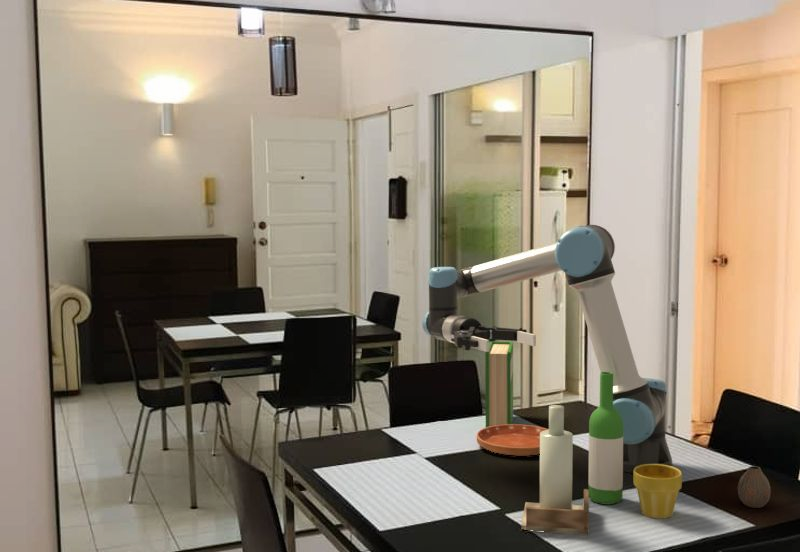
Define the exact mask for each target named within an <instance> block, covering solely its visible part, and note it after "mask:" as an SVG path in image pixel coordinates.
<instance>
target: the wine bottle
mask: <svg viewBox="0 0 800 552" xmlns="http://www.w3.org/2000/svg"><path fill="white" fill-rule="evenodd" d="M623 475H624V471H623V420H622V417H621V415H620V413H619V412H618V411H617V410H616V409H615V408H614V407H613V373H611V372H601V371H600V375H599V405H598V407H597V408H596V409H595V410H594V411H593V412H592V413H591V414H590V417H589V421H588V496H589V500H591V501H593V502H595V503H597V504H601V505H613V504H614V505H615V504H617V503H620V502H621V501H622V500H623V492H624V491H623V490H624V489H623V485H624V483H623V482H624V476H623Z"/></svg>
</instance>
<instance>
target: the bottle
mask: <svg viewBox="0 0 800 552" xmlns="http://www.w3.org/2000/svg"><path fill="white" fill-rule="evenodd" d="M564 424H565V406H563V405H561V404H552V405H551V404H550V405H549V406H548V429H549V430H545V431H542V432H540V455H539V503H540V508H558V509H572V505H573V448H574V447H573V446H574V445H573V441H574V440H573V439H574V438H573V436H574V434H573V433H572V432H570V431H569V430H568V431H567V430H565V429H564V428H565V425H564Z"/></svg>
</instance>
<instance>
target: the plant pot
mask: <svg viewBox="0 0 800 552" xmlns="http://www.w3.org/2000/svg"><path fill="white" fill-rule="evenodd" d="M632 474H633V475H632V476H633V477H632V478H633V479H632V480H633V482H632V483H633V485H634V486H635V488H636V491H637V496H638V500H639V506H640V511H641V513H642V514H643V515H644V516H645V517H647V518H651V519H667V518H668V519H669V518H670V517H672V516H673V513H674V510H675V506H676V501H677V498H678V494H679V491H680V490H681V489H682V484H683V473H682V471H681V470H680V469H679V468H677V467H674V466H673V465H672V466H668V465H662V464H644V465H640V466H637V467H635V468H634V470H633V473H632Z"/></svg>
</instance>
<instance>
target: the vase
mask: <svg viewBox="0 0 800 552" xmlns="http://www.w3.org/2000/svg"><path fill="white" fill-rule="evenodd" d="M771 493H772V492H771V486H770V482H769V479H768V477H767V476H766V475H765V474H764V473H763V471H762V469H761V467H760V466H756V465H751V466H748V469H747V470H746V472H744V473H743V475H741V477H740V478H739V481H738V485H737V495H738V497H739V500H740V502H742V504H743V505H745V506H746V507H748V508H753V509H755V508H756V509H759V508H760V509H761V508H763V507H765V506H766V504H767V503H768V502H769V500H770V497H771Z"/></svg>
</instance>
